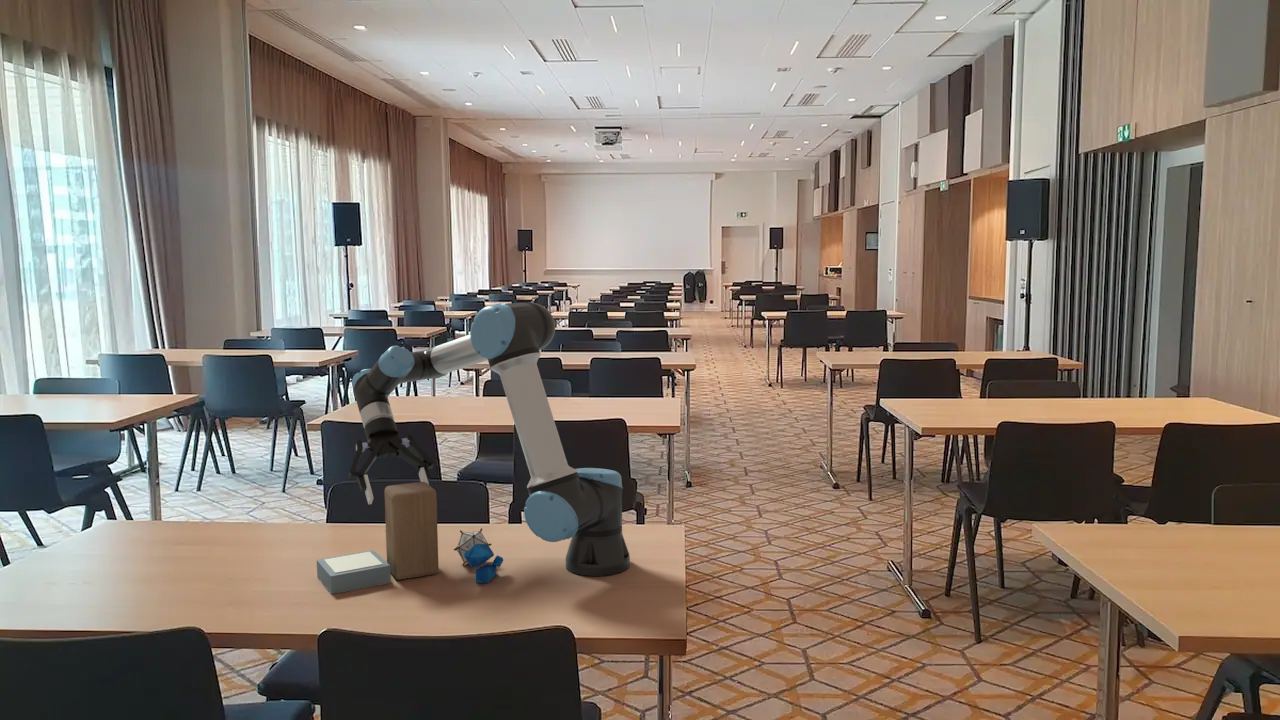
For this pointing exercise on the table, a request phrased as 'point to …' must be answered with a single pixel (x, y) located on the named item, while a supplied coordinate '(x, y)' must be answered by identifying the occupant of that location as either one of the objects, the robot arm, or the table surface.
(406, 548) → the wooden block
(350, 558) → the base
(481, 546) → the blue faceted figurine
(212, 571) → the table surface
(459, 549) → the game die
